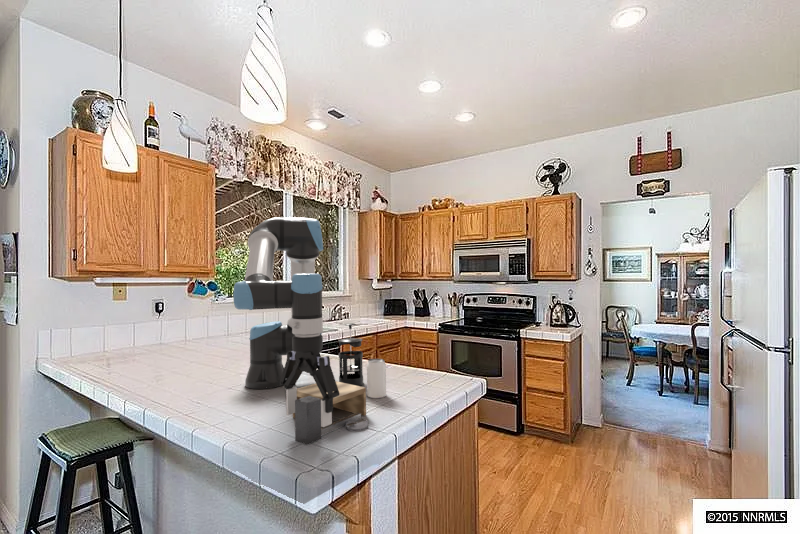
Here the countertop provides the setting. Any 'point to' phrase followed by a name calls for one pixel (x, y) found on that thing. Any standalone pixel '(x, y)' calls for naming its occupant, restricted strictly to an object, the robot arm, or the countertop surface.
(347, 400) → the shelf
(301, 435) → the tool
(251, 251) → the robot arm
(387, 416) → the countertop surface
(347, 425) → the disc
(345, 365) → the french press
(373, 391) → the can
